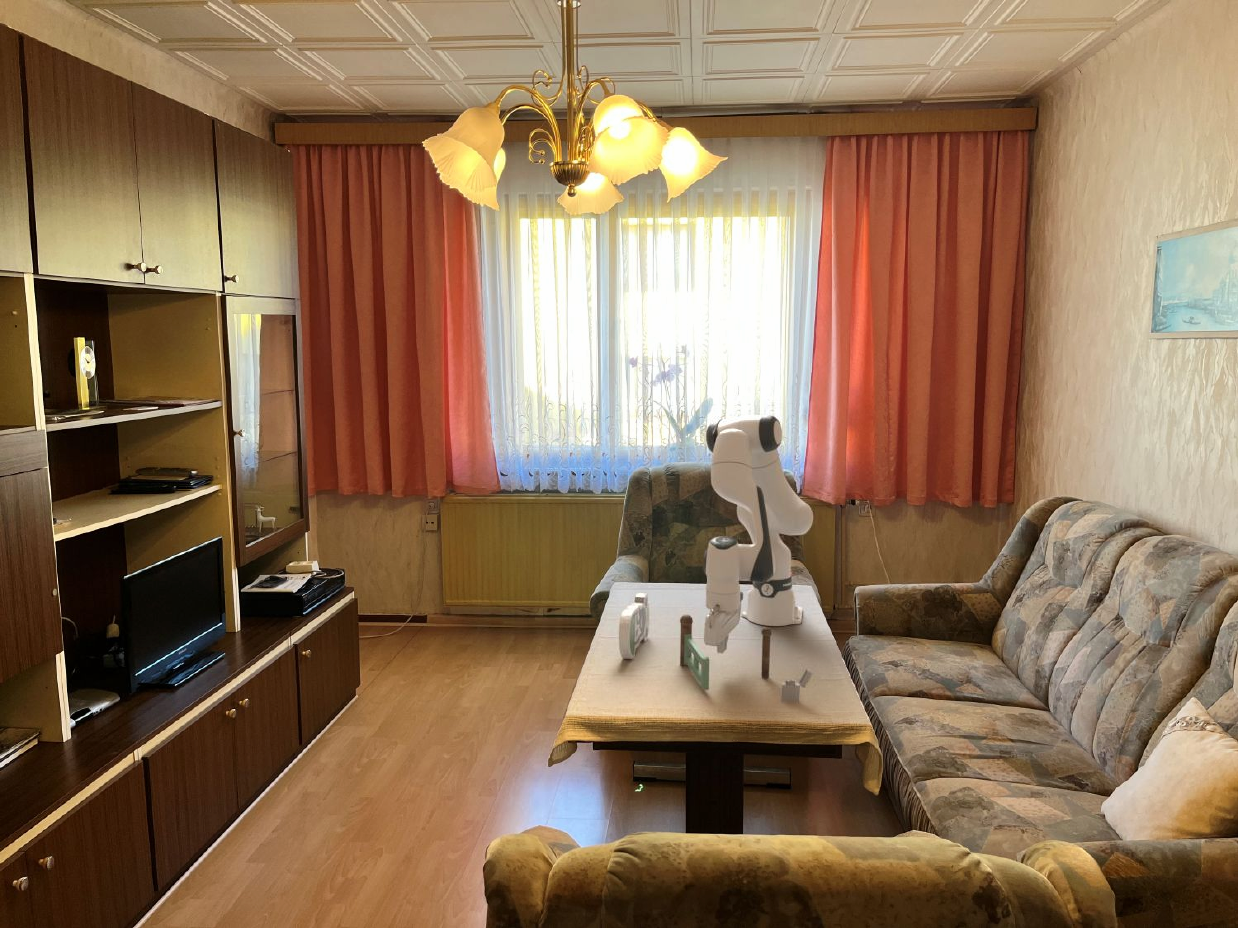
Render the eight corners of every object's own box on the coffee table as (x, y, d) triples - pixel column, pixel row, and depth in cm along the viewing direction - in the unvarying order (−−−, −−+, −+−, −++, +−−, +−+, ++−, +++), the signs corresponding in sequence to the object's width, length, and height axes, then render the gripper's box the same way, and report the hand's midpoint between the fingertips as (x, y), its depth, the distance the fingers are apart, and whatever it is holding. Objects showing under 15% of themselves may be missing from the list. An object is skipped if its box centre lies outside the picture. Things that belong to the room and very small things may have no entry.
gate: (689, 662, 250) (690, 634, 249) (708, 689, 232) (709, 658, 230) (684, 663, 250) (684, 634, 249) (702, 689, 231) (703, 659, 230)
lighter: (782, 701, 227) (783, 670, 226) (781, 699, 228) (782, 667, 227) (811, 702, 226) (812, 671, 225) (810, 699, 228) (811, 668, 227)
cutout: (641, 590, 274) (619, 608, 250) (650, 591, 273) (629, 609, 249) (639, 640, 275) (617, 663, 251) (648, 641, 274) (627, 664, 250)
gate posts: (681, 661, 254) (682, 612, 252) (771, 675, 244) (773, 624, 242) (677, 665, 251) (678, 615, 249) (768, 680, 241) (769, 628, 239)
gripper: (722, 613, 230) (721, 666, 232) (745, 591, 248) (744, 640, 251) (698, 610, 232) (697, 662, 235) (722, 588, 251) (721, 637, 253)
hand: (721, 651), depth 243 cm, fingers closed
